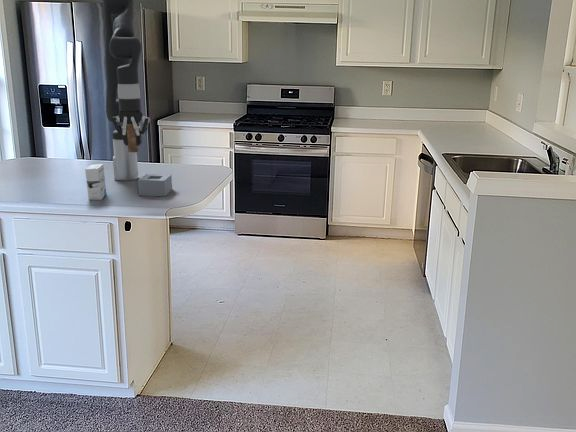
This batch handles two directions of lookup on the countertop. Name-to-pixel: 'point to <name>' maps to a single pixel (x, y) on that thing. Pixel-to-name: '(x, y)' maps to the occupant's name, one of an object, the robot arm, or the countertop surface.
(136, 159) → the robot arm
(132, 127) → the walnut dowel
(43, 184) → the countertop surface
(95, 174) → the ink box
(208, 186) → the countertop surface
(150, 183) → the socket block
